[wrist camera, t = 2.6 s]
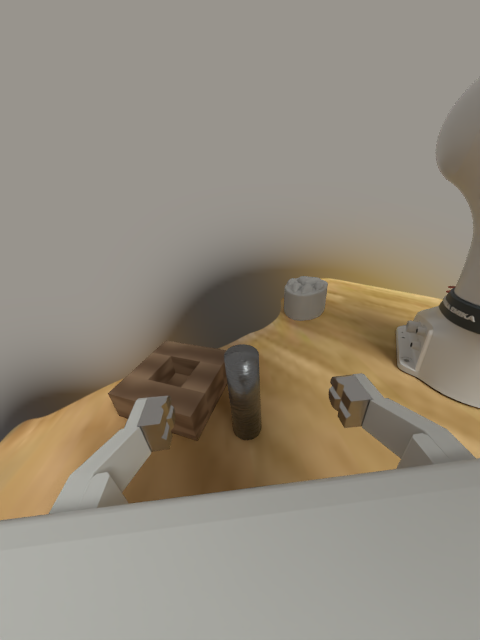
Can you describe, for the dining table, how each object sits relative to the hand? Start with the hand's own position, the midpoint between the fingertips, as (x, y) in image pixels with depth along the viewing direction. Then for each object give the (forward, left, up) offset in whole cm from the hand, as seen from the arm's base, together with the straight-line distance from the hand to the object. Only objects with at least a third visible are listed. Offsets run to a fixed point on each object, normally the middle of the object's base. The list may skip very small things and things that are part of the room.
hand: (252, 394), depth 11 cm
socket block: (-14, -18, -20) cm, 30 cm away
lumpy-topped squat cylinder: (-50, -1, -20) cm, 54 cm away
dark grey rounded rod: (-11, -5, -20) cm, 23 cm away
